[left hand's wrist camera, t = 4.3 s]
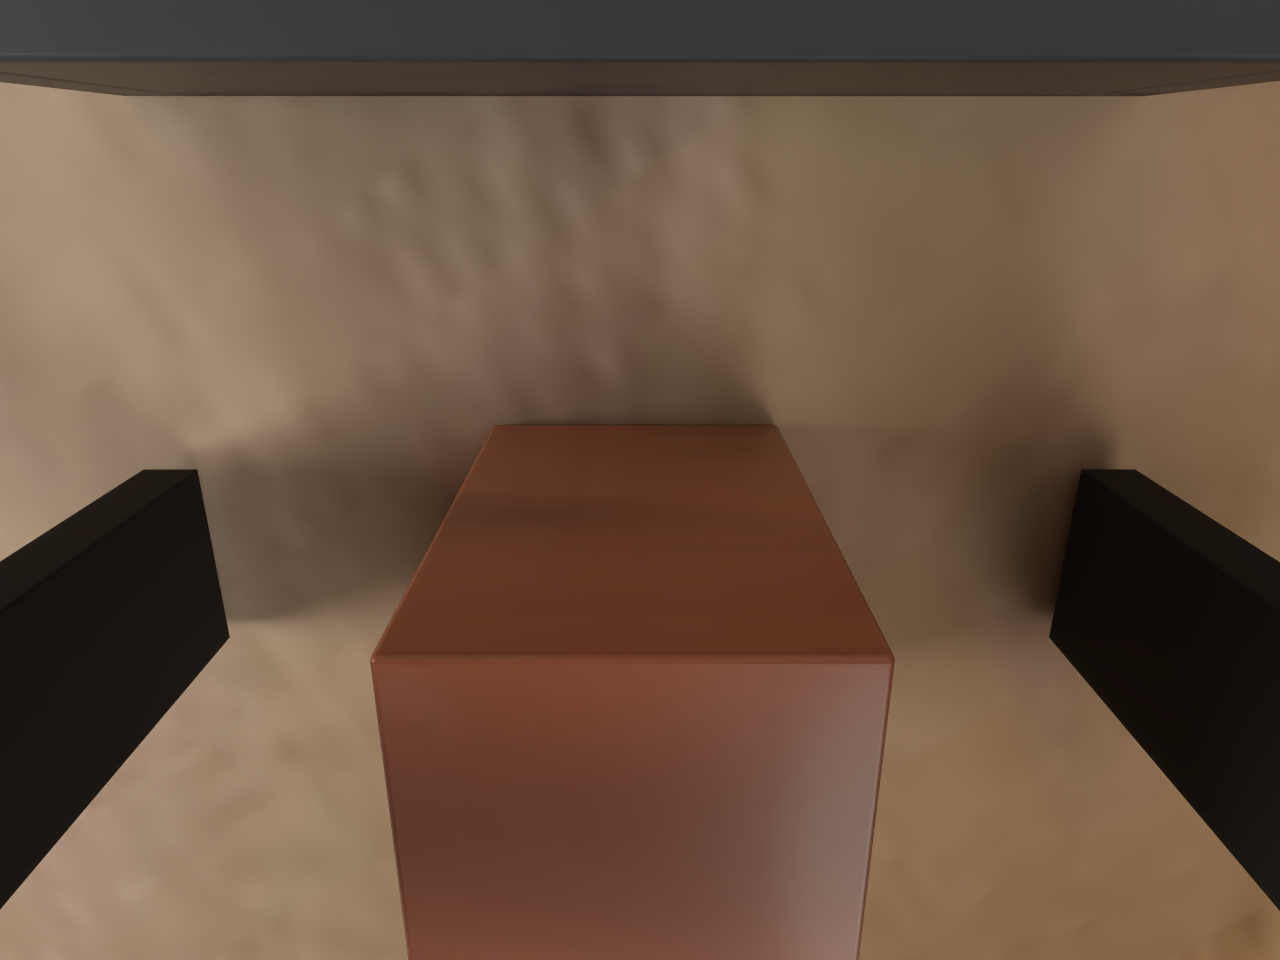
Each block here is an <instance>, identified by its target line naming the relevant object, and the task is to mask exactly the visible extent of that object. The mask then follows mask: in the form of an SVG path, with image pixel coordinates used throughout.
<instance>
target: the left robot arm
mask: <svg viewBox="0 0 1280 960" xmlns="http://www.w3.org/2000/svg"><path fill="white" fill-rule="evenodd" d="M1049 638H1050V639H1051V640H1052V641H1053V642H1054V644H1055V645H1056V646H1057V647H1058V648H1059V649H1060V651H1061V652H1062V653H1063V654H1064V655H1065V657H1066V658H1067V659H1068V660H1069V661H1070V663H1071V664H1072V665H1073V666H1074V667H1075V668H1076V670H1077V671H1078V672H1079V673H1080V674H1081V676H1082V677H1083V678H1084V679H1085V680H1086V681H1087V683H1088V684H1089V685H1090V686H1091V687H1092V689H1093V690H1094V691H1095V692H1096V693H1097V695H1098V696H1099V697H1100V698H1101V699H1102V700H1103V702H1104V703H1105V704H1106V705H1107V706H1108V708H1109V709H1110V710H1111V711H1112V712H1113V713H1114V715H1115V716H1116V717H1117V718H1118V719H1119V721H1120V722H1121V723H1122V724H1123V725H1124V727H1125V728H1126V729H1127V730H1128V731H1129V732H1130V734H1131V735H1132V736H1133V737H1134V738H1135V740H1136V741H1137V742H1138V743H1139V744H1140V746H1141V747H1142V748H1143V749H1144V750H1145V751H1146V753H1147V754H1148V755H1149V756H1150V757H1151V759H1152V760H1153V761H1154V762H1155V763H1156V764H1157V766H1158V767H1159V768H1160V769H1161V770H1162V772H1163V773H1164V774H1165V775H1166V776H1167V778H1168V779H1169V780H1170V781H1171V782H1172V783H1173V785H1174V786H1175V787H1176V788H1177V789H1178V791H1179V792H1180V793H1181V794H1182V795H1183V797H1184V798H1185V799H1186V800H1187V801H1188V802H1189V804H1190V805H1191V806H1192V807H1193V808H1194V810H1195V811H1196V812H1197V813H1198V814H1199V815H1200V817H1201V818H1202V819H1203V820H1204V821H1205V823H1206V824H1207V825H1208V826H1209V827H1210V829H1211V830H1212V831H1213V832H1214V833H1215V834H1216V836H1217V837H1218V838H1219V839H1220V840H1221V842H1222V843H1223V844H1224V845H1225V846H1226V848H1227V849H1228V850H1229V851H1230V852H1231V853H1232V855H1233V856H1234V857H1235V858H1236V859H1237V861H1238V862H1239V863H1240V864H1241V865H1242V866H1243V868H1244V869H1245V870H1246V871H1247V872H1248V874H1249V875H1250V876H1251V877H1252V878H1253V880H1254V881H1255V882H1256V883H1257V884H1258V885H1259V887H1260V888H1261V889H1262V890H1263V891H1264V893H1265V894H1266V895H1267V896H1268V897H1269V899H1270V900H1271V901H1272V902H1273V903H1274V904H1275V906H1276V907H1277V908H1278V909H1279V910H1280V562H1278V561H1277V560H1275V559H1274V558H1272V557H1271V556H1269V555H1267V554H1266V553H1264V552H1263V551H1261V550H1260V549H1258V548H1257V547H1255V546H1253V545H1252V544H1250V543H1249V542H1247V541H1246V540H1244V539H1243V538H1241V537H1239V536H1238V535H1236V534H1235V533H1233V532H1232V531H1230V530H1229V529H1227V528H1225V527H1224V526H1222V525H1221V524H1219V523H1218V522H1216V521H1214V520H1213V519H1211V518H1210V517H1208V516H1207V515H1205V514H1204V513H1202V512H1200V511H1199V510H1197V509H1196V508H1194V507H1193V506H1191V505H1190V504H1188V503H1186V502H1185V501H1183V500H1182V499H1180V498H1179V497H1177V496H1175V495H1174V494H1172V493H1171V492H1169V491H1168V490H1166V489H1165V488H1163V487H1161V486H1160V485H1158V484H1157V483H1155V482H1154V481H1152V480H1151V479H1149V478H1147V477H1146V476H1144V475H1143V474H1141V473H1140V472H1138V471H1137V470H1081V475H1080V480H1079V485H1078V490H1077V496H1076V501H1075V506H1074V511H1073V516H1072V522H1071V527H1070V532H1069V537H1068V542H1067V547H1066V553H1065V558H1064V563H1063V568H1062V573H1061V579H1060V584H1059V589H1058V594H1057V599H1056V605H1055V610H1054V615H1053V620H1052V625H1051V630H1050V636H1049ZM228 639H229V632H228V626H227V621H226V616H225V611H224V606H223V601H222V595H221V590H220V585H219V580H218V575H217V570H216V564H215V559H214V554H213V549H212V544H211V539H210V533H209V528H208V523H207V518H206V513H205V507H204V502H203V497H202V492H201V487H200V482H199V476H198V471H197V470H142V471H141V472H139V473H138V474H136V475H134V476H133V477H131V478H130V479H128V480H127V481H125V482H124V483H122V484H120V485H119V486H117V487H116V488H114V489H113V490H111V491H110V492H108V493H106V494H105V495H103V496H102V497H100V498H99V499H97V500H95V501H94V502H92V503H91V504H89V505H88V506H86V507H85V508H83V509H81V510H80V511H78V512H77V513H75V514H74V515H72V516H71V517H69V518H67V519H66V520H64V521H63V522H61V523H60V524H58V525H57V526H55V527H53V528H52V529H50V530H49V531H47V532H46V533H44V534H42V535H41V536H39V537H38V538H36V539H35V540H33V541H32V542H30V543H28V544H27V545H25V546H24V547H22V548H21V549H19V550H18V551H16V552H14V553H13V554H11V555H10V556H8V557H7V558H5V559H3V560H2V561H0V909H1V908H2V907H3V905H4V904H5V903H6V902H7V901H8V900H9V898H10V897H11V896H12V895H13V894H14V892H15V891H16V890H17V889H18V888H19V886H20V885H21V884H22V883H23V882H24V881H25V879H26V878H27V877H28V876H29V875H30V873H31V872H32V871H33V870H34V869H35V868H36V866H37V865H38V864H39V863H40V862H41V860H42V859H43V858H44V857H45V856H46V854H47V853H48V852H49V851H50V850H51V849H52V847H53V846H54V845H55V844H56V843H57V841H58V840H59V839H60V838H61V837H62V835H63V834H64V833H65V832H66V831H67V830H68V828H69V827H70V826H71V825H72V824H73V822H74V821H75V820H76V819H77V818H78V817H79V815H80V814H81V813H82V812H83V811H84V809H85V808H86V807H87V806H88V805H89V803H90V802H91V801H92V800H93V799H94V798H95V796H96V795H97V794H98V793H99V792H100V790H101V789H102V788H103V787H104V786H105V784H106V783H107V782H108V781H109V780H110V779H111V777H112V776H113V775H114V774H115V773H116V771H117V770H118V769H119V768H120V767H121V766H122V764H123V763H124V762H125V761H126V760H127V758H128V757H129V756H130V755H131V754H132V752H133V751H134V750H135V749H136V748H137V747H138V745H139V744H140V743H141V742H142V741H143V739H144V738H145V737H146V736H147V735H148V734H149V732H150V731H151V730H152V729H153V728H154V726H155V725H156V724H157V723H158V722H159V720H160V719H161V718H162V717H163V716H164V715H165V713H166V712H167V711H168V710H169V709H170V707H171V706H172V705H173V704H174V703H175V701H176V700H177V699H178V698H179V697H180V696H181V694H182V693H183V692H184V691H185V690H186V688H187V687H188V686H189V685H190V684H191V683H192V681H193V680H194V679H195V678H196V677H197V675H198V674H199V673H200V672H201V671H202V669H203V668H204V667H205V666H206V665H207V664H208V662H209V661H210V660H211V659H212V658H213V656H214V655H215V654H216V653H217V652H218V651H219V649H220V648H221V647H222V646H223V645H224V643H225V642H226V641H227V640H228Z"/></svg>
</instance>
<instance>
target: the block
mask: <svg viewBox="0 0 1280 960" xmlns="http://www.w3.org/2000/svg"><path fill="white" fill-rule="evenodd" d="M894 662H895V659H894V656H893V653H892V652H891V650H890V648H889V646H888V644H887V642H886V640H885V638H884V636H883V634H882V632H881V630H880V628H879V626H878V624H877V622H876V620H875V618H874V616H873V614H872V612H871V610H870V608H869V606H868V604H867V602H866V600H865V598H864V596H863V594H862V592H861V590H860V589H859V587H858V585H857V583H856V581H855V579H854V577H853V575H852V573H851V571H850V569H849V567H848V565H847V563H846V561H845V559H844V557H843V555H842V553H841V551H840V549H839V547H838V545H837V543H836V541H835V539H834V537H833V535H832V533H831V531H830V529H829V527H828V525H827V524H826V522H825V520H824V518H823V516H822V514H821V512H820V510H819V508H818V506H817V504H816V502H815V500H814V498H813V496H812V494H811V492H810V490H809V488H808V486H807V484H806V482H805V480H804V478H803V476H802V474H801V472H800V470H799V468H798V466H797V464H796V462H795V461H794V459H793V457H792V455H791V453H790V451H789V449H788V447H787V445H786V443H785V441H784V439H783V437H782V435H781V433H780V431H779V429H778V427H777V426H775V425H496V426H493V428H492V430H491V432H490V433H489V435H488V437H487V439H486V441H485V443H484V445H483V447H482V449H481V450H480V452H479V454H478V456H477V458H476V460H475V462H474V464H473V465H472V467H471V469H470V471H469V473H468V475H467V477H466V479H465V481H464V482H463V484H462V486H461V488H460V490H459V492H458V494H457V496H456V498H455V499H454V501H453V503H452V505H451V507H450V509H449V511H448V513H447V514H446V516H445V518H444V520H443V522H442V524H441V526H440V528H439V530H438V531H437V533H436V535H435V537H434V539H433V541H432V543H431V545H430V546H429V548H428V550H427V552H426V554H425V556H424V558H423V560H422V562H421V563H420V565H419V567H418V569H417V571H416V573H415V575H414V577H413V579H412V580H411V582H410V584H409V586H408V588H407V590H406V592H405V594H404V595H403V597H402V599H401V601H400V603H399V605H398V607H397V609H396V611H395V612H394V614H393V616H392V618H391V620H390V622H389V624H388V626H387V627H386V629H385V631H384V633H383V635H382V637H381V639H380V641H379V643H378V644H377V646H376V648H375V650H374V652H373V654H372V656H371V659H370V663H371V671H372V678H373V686H374V694H375V702H376V710H377V717H378V725H379V733H380V741H381V749H382V756H383V764H384V772H385V780H386V788H387V796H388V803H389V811H390V819H391V827H392V835H393V842H394V850H395V858H396V866H397V874H398V882H399V889H400V897H401V905H402V913H403V921H404V928H405V936H406V944H407V952H408V960H858V959H859V951H860V943H861V935H862V926H863V918H864V910H865V902H866V893H867V885H868V877H869V869H870V860H871V852H872V844H873V836H874V827H875V819H876V811H877V803H878V794H879V786H880V778H881V770H882V761H883V753H884V745H885V737H886V728H887V720H888V712H889V704H890V695H891V687H892V679H893V671H894Z"/></svg>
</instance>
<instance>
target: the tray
mask: <svg viewBox="0 0 1280 960" xmlns="http://www.w3.org/2000/svg"><path fill="white" fill-rule="evenodd" d="M1272 81H1280V0H0V82H6V83H15V84H24V85H33V86H42V87H51V88H60V89H69V90H78V91H87V92H96V93H105V94H113V95H122V96H1148V95H1157V94H1166V93H1175V92H1184V91H1193V90H1202V89H1210V88H1219V87H1228V86H1237V85H1246V84H1255V83H1264V82H1272Z"/></svg>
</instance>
